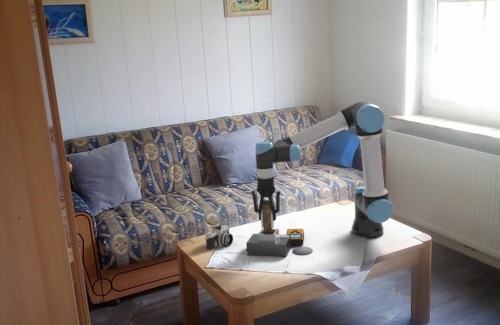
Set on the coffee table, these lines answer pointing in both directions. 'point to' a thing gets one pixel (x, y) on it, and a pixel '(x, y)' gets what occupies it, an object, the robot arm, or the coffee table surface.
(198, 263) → the coffee table surface
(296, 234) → the electronic device
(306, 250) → the coaster
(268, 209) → the brown cylinder with cap
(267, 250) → the box
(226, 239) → the camera
